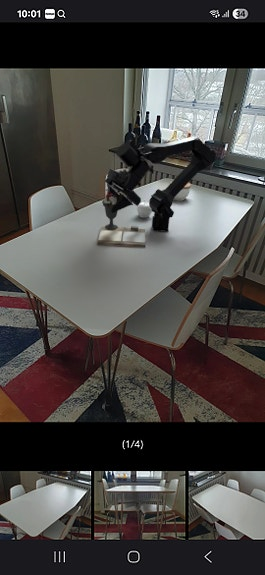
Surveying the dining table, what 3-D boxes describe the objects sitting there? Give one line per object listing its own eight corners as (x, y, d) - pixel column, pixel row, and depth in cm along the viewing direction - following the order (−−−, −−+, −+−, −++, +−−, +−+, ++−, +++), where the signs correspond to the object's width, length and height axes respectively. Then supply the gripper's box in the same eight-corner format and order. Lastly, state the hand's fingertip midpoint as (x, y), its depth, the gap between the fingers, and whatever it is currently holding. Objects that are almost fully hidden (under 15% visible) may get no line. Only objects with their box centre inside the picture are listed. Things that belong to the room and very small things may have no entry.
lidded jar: (164, 196, 167) (166, 178, 162) (180, 194, 171) (183, 176, 166) (175, 203, 159) (178, 184, 154) (192, 200, 164) (195, 182, 158)
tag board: (145, 231, 130) (145, 226, 129) (145, 247, 119) (145, 241, 117) (101, 228, 130) (101, 223, 129) (97, 244, 119) (97, 239, 117)
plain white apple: (133, 215, 143) (134, 198, 139) (145, 212, 147) (146, 195, 143) (143, 220, 139) (144, 203, 134) (155, 217, 143) (156, 200, 138)
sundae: (99, 228, 119) (98, 189, 111) (107, 222, 124) (107, 184, 116) (114, 232, 117) (115, 193, 108) (122, 226, 122) (123, 187, 113)
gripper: (109, 154, 115) (82, 188, 117) (134, 166, 102) (104, 204, 104) (127, 173, 123) (102, 205, 125) (153, 188, 110) (124, 223, 111)
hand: (107, 209), depth 116 cm, fingers closed on sundae, 6 cm apart
